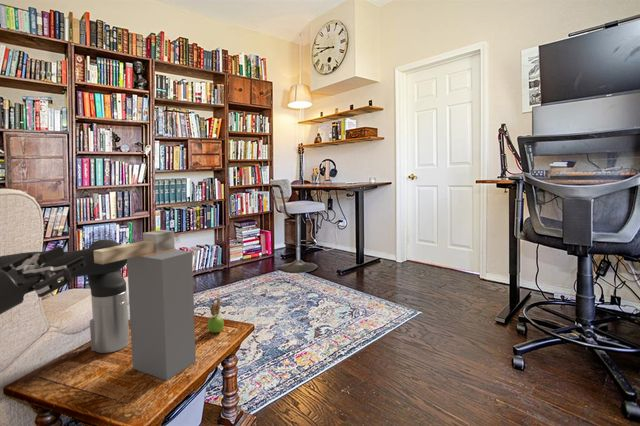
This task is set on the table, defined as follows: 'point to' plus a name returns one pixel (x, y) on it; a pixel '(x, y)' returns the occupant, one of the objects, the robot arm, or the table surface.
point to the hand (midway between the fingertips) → (73, 254)
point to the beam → (137, 247)
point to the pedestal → (162, 312)
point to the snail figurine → (215, 318)
